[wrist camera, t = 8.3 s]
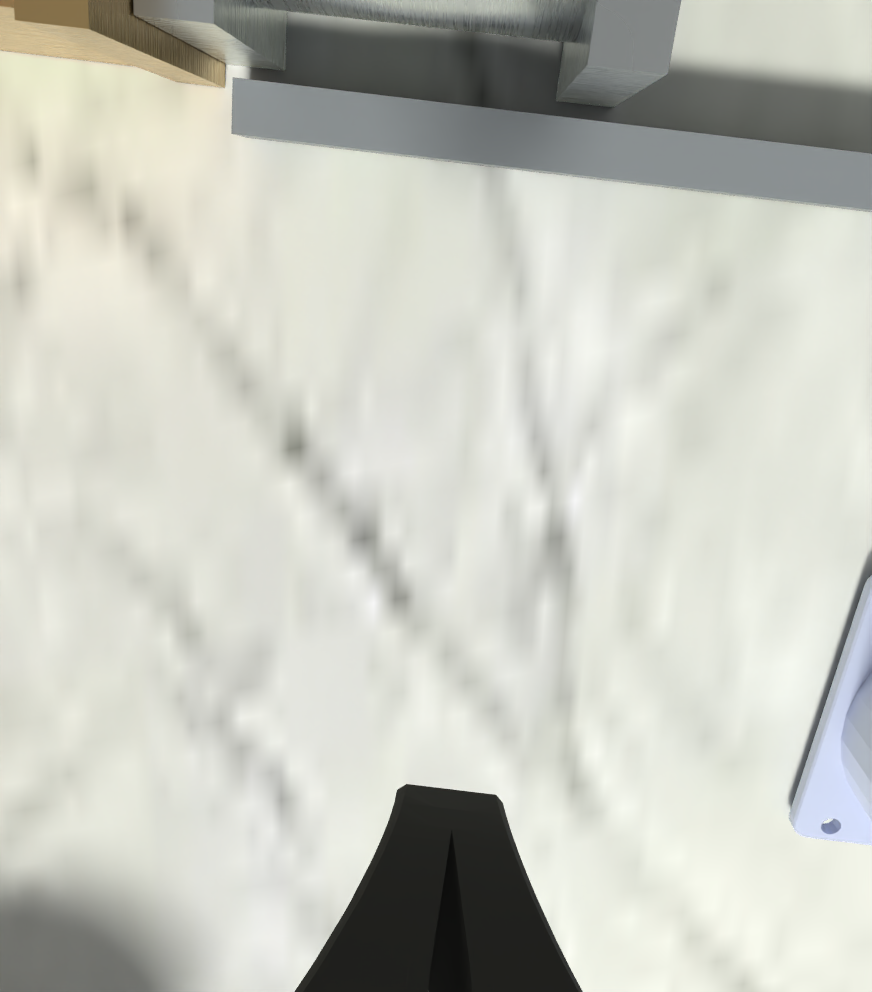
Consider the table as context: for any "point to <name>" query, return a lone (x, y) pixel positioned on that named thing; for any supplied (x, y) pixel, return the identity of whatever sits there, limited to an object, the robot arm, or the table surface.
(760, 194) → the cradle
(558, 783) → the table surface
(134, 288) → the table surface
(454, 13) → the spool
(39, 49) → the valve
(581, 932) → the table surface
